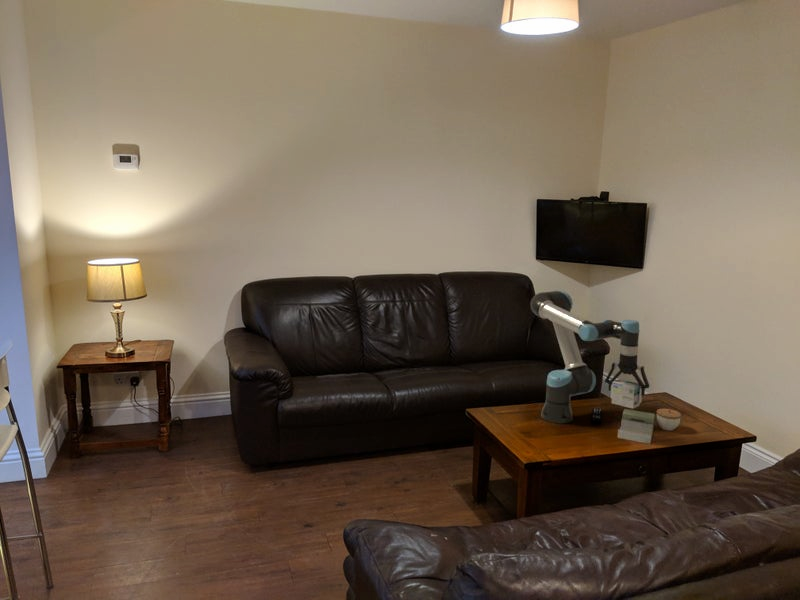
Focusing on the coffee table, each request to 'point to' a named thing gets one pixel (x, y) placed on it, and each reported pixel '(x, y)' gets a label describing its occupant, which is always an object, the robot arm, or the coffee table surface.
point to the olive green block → (638, 416)
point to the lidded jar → (668, 418)
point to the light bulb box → (625, 393)
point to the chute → (635, 431)
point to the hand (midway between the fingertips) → (625, 399)
